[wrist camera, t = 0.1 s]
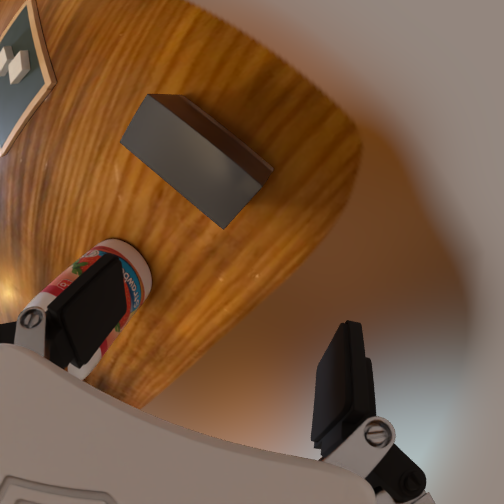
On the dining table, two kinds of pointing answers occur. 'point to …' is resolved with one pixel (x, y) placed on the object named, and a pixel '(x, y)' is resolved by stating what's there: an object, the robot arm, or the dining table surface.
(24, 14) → the chalkboard
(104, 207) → the dining table surface
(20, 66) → the chalk lump
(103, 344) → the strawberry yogurt drink bottle
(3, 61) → the chalk lump
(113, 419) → the robot arm
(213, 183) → the eraser
